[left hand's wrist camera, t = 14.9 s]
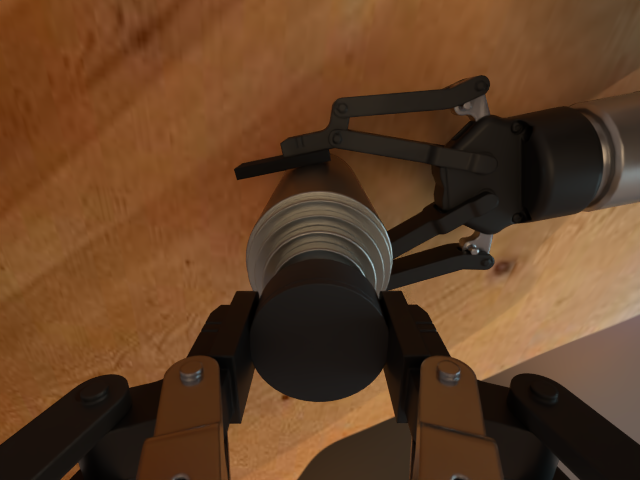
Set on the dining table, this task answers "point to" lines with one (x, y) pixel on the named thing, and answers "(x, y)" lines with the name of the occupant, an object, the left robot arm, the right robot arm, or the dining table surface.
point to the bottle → (319, 226)
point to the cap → (319, 331)
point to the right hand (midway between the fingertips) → (254, 222)
